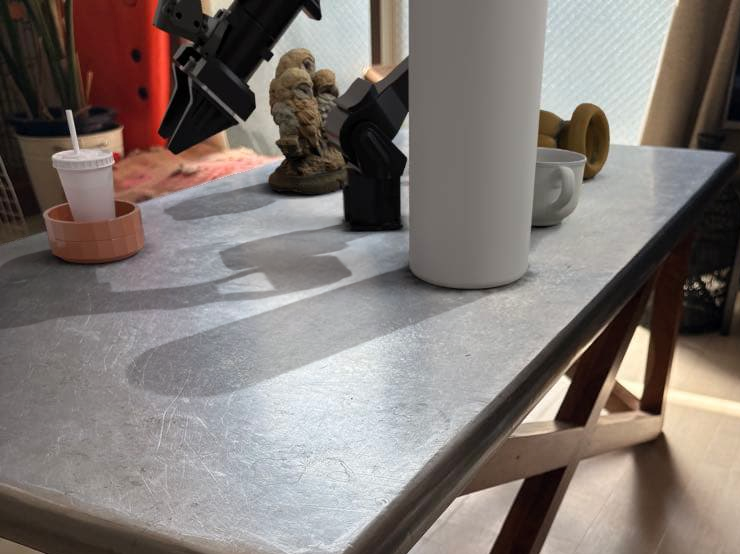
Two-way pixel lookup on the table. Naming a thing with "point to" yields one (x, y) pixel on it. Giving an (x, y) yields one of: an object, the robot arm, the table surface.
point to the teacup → (556, 185)
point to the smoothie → (86, 179)
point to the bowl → (95, 234)
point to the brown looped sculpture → (578, 135)
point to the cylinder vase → (473, 138)
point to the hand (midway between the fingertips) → (165, 143)
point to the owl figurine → (304, 126)
